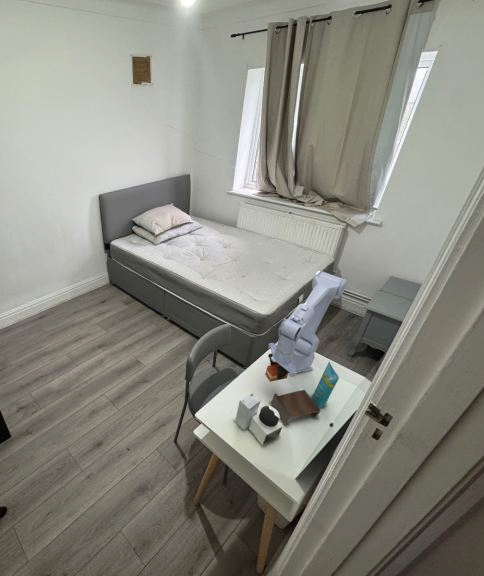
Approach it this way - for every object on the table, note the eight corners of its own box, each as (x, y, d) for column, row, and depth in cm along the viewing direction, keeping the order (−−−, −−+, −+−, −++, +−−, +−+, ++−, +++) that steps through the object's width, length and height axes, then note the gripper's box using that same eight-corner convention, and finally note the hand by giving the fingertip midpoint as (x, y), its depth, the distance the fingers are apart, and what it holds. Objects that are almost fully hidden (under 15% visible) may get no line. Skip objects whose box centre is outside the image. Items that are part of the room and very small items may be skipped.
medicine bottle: (262, 446, 101) (270, 426, 94) (248, 428, 107) (254, 408, 100) (278, 437, 104) (287, 417, 97) (263, 420, 109) (270, 400, 102)
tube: (306, 394, 117) (321, 360, 106) (319, 393, 117) (335, 360, 106) (316, 411, 111) (333, 377, 100) (329, 410, 111) (347, 377, 100)
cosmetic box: (243, 430, 106) (249, 410, 99) (234, 420, 109) (238, 400, 102) (255, 421, 109) (261, 401, 102) (245, 412, 112) (251, 391, 105)
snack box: (281, 371, 116) (284, 362, 113) (287, 378, 113) (290, 369, 110) (264, 374, 115) (267, 365, 112) (270, 382, 112) (272, 373, 109)
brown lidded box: (301, 396, 116) (305, 387, 113) (317, 417, 109) (322, 407, 106) (270, 403, 114) (274, 393, 111) (284, 425, 107) (288, 415, 104)
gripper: (263, 336, 111) (257, 361, 118) (287, 366, 99) (277, 391, 107) (281, 333, 112) (273, 358, 119) (306, 362, 100) (295, 388, 108)
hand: (276, 373), depth 113 cm, fingers closed on snack box, 4 cm apart
